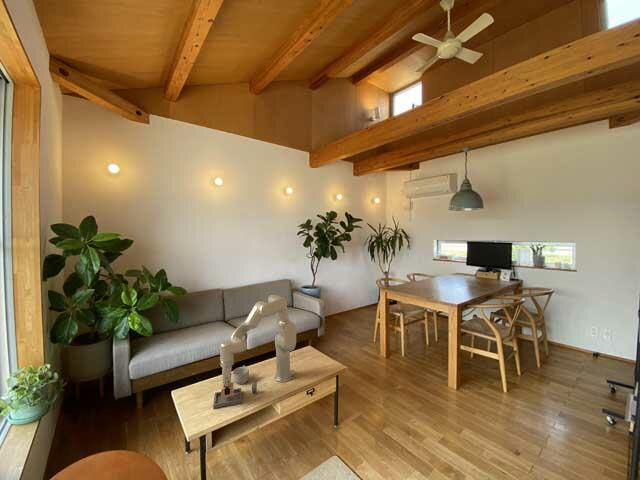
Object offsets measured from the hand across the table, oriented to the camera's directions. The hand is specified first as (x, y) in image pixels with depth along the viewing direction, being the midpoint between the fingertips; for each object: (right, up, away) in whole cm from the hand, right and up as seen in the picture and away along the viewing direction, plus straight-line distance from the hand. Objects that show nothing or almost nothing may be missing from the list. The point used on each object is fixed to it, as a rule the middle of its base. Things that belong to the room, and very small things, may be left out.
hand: (227, 390), depth 165 cm
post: (+15, -5, +7) cm, 17 cm away
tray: (0, -6, 0) cm, 6 cm away
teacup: (+3, -5, +22) cm, 23 cm away
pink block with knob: (0, -2, 0) cm, 2 cm away
